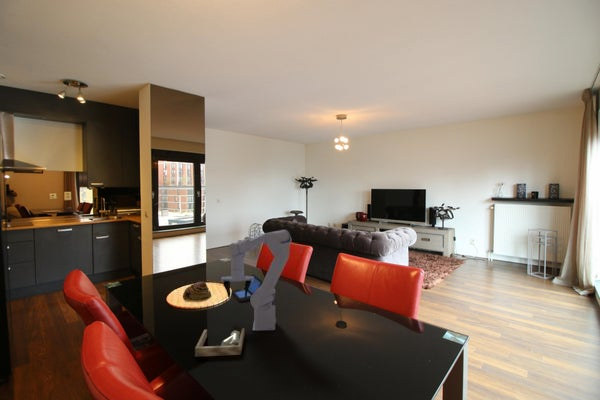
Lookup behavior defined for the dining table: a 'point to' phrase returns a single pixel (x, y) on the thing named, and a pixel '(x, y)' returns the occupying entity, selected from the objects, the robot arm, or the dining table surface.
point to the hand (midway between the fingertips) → (237, 296)
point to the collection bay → (218, 347)
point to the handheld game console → (251, 290)
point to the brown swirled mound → (197, 292)
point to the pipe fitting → (232, 339)
